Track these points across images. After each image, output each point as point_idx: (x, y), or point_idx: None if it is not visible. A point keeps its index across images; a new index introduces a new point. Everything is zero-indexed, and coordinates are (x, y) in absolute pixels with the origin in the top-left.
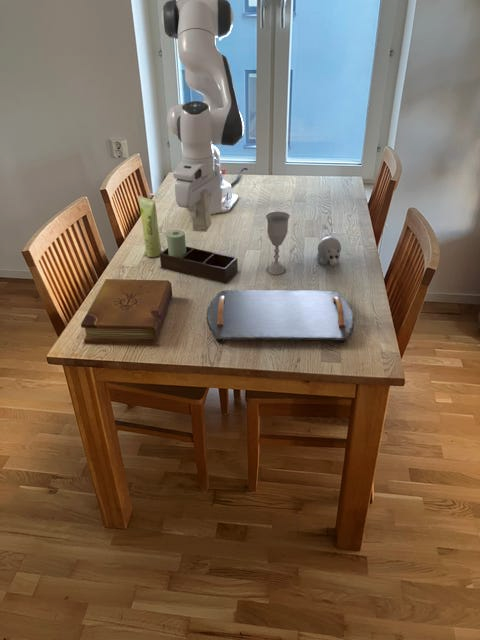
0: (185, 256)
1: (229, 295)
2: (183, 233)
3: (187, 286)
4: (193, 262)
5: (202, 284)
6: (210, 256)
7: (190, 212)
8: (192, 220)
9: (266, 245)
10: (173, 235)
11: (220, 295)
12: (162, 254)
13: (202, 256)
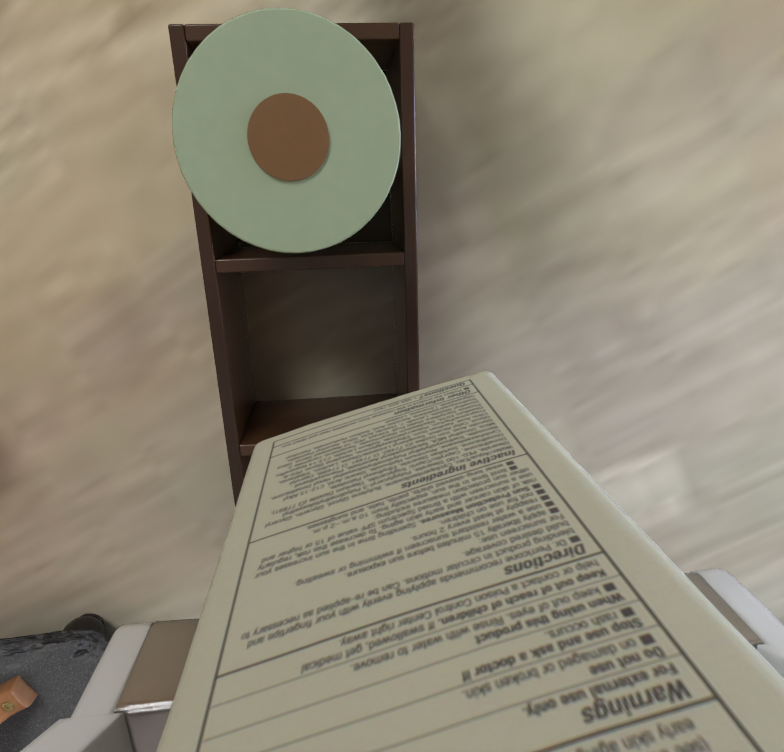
0: (265, 270)
1: (77, 694)
2: (332, 228)
3: (110, 378)
4: (218, 379)
5: (184, 440)
6: None
7: (87, 692)
8: (229, 528)
9: (758, 510)
10: (224, 146)
11: (46, 661)
12: (174, 61)
13: (400, 328)
